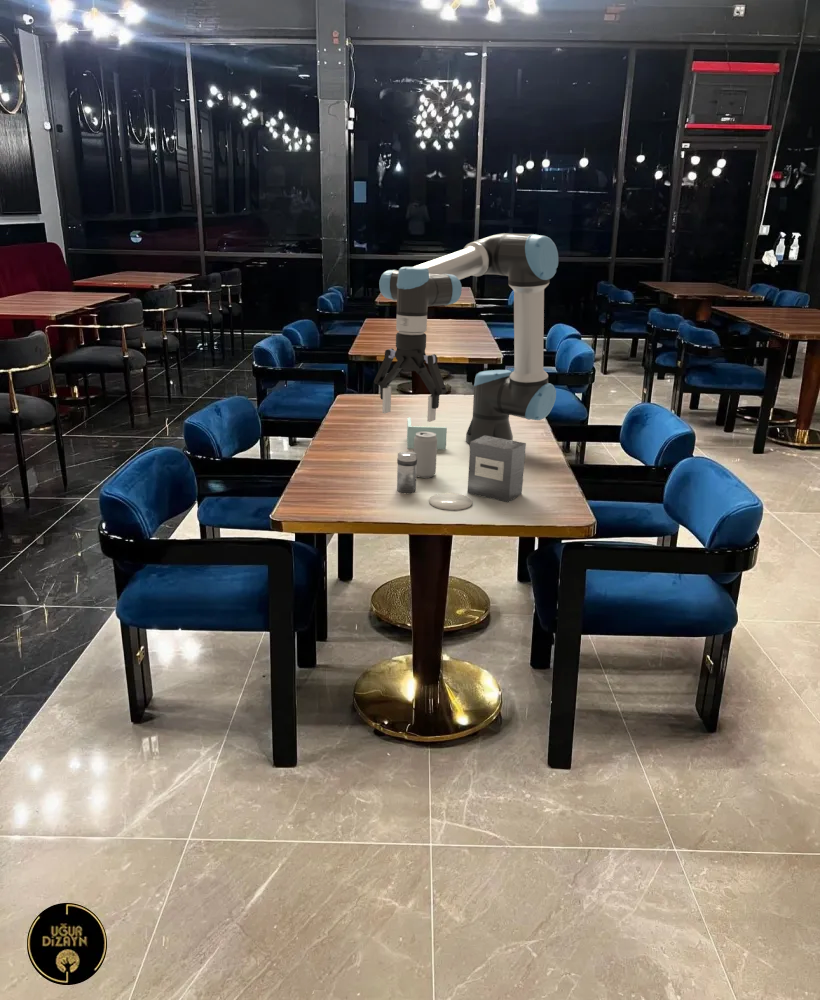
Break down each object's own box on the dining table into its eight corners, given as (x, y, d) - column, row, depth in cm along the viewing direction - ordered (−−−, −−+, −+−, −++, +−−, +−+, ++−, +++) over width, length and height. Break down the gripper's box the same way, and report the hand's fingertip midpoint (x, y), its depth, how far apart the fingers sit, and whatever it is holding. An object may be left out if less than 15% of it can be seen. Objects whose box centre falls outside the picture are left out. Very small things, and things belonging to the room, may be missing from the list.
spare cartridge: (403, 485, 210) (404, 450, 206) (419, 489, 207) (421, 453, 204) (392, 491, 206) (393, 454, 202) (409, 495, 203) (410, 458, 199)
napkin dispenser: (481, 485, 212) (484, 435, 207) (521, 494, 206) (525, 443, 201) (466, 493, 205) (469, 442, 201) (507, 503, 200) (511, 450, 195)
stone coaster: (442, 492, 206) (442, 490, 206) (479, 501, 200) (479, 498, 200) (420, 504, 197) (420, 501, 197) (458, 513, 192) (459, 511, 191)
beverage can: (422, 470, 223) (423, 429, 219) (440, 475, 219) (442, 433, 215) (408, 475, 219) (409, 433, 214) (426, 480, 215) (427, 438, 211)
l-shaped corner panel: (445, 451, 244) (446, 427, 241) (407, 450, 244) (408, 426, 241) (443, 440, 255) (444, 418, 253) (406, 439, 255) (407, 417, 252)
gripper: (361, 328, 195) (360, 411, 202) (447, 339, 183) (443, 427, 190) (378, 325, 201) (376, 406, 208) (463, 336, 189) (458, 421, 196)
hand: (408, 416), depth 199 cm, fingers open, 13 cm apart
